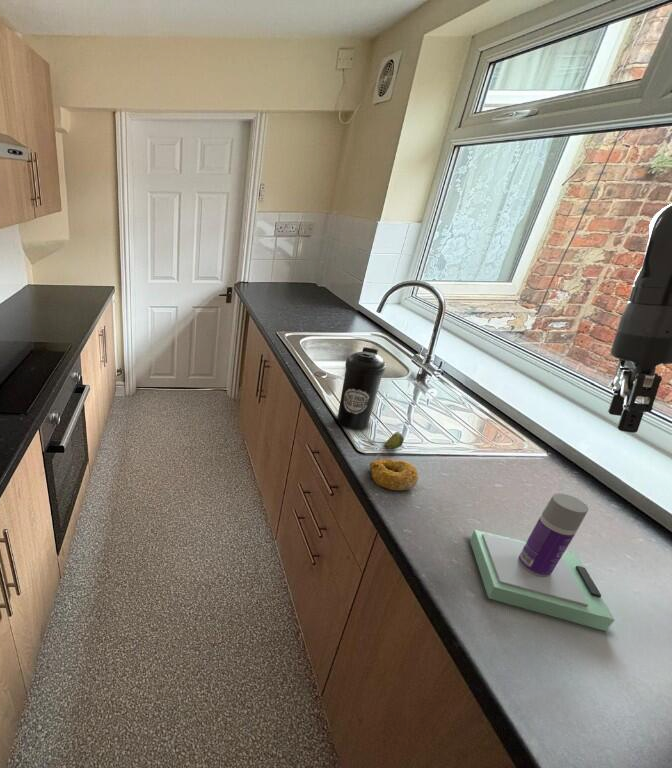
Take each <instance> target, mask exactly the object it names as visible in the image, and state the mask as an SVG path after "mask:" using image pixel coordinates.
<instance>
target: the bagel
mask: <svg viewBox="0 0 672 768" xmlns="http://www.w3.org/2000/svg"><path fill="white" fill-rule="evenodd" d="M369 469H370V470H371V475H372V476H371V477H372V478H373V482H375V483H376V485H378V486H380V487H382V488H385V489H387V490H391V491H406V490H410V489H413V488H414V487H415V486H417V483H418V481H419V475H418V471H417V469H416V467H415V466H414V465H412V464H411V463H410V462H408V461H405V460H395V459H391V458H380V459H377V460H372V461H371V462H370V463H369Z"/></svg>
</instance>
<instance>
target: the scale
mask: <svg viewBox="0 0 672 768" xmlns="http://www.w3.org/2000/svg"><path fill="white" fill-rule="evenodd" d="M469 542H470V546H471V548H472V549H471V550H472V552H473V554H474V558H475V561H476V564H477V567H478V570H479V573H480V576H481V579H482V583H483V586H484V588H485V592H486V594H487V598H488V599H491V600H493V601H497V602H500V603H505V604H508V605H511V606H515V607H517V608H518V607H519V608H522V609H526V610H529V611H532V612H536V613H540V614H542V615H547V616H550V617H554V618H557V619H561V620H564V621H568V622H572V623H575V624H579V625H582V626H586V627H589V628H593V629H597V630H600V631H603V632H607V631H608V629H609V627H611V625H612V624H613V623H614V622H615V618H614V616H613V614H612V612H611V610H610V609H609V607H608V606H607V604H606V603H605V601H604V598H602V594H601V592H600V590H599V589H598V587H597V585H596V584H595V582H594V580H593V579H592V577H591V575H590V574H589V572H588V570H587V569H586V567H585V566H584V565H583V564H582V562H581V560H580V558H579V556H578V555H577V553H575V552H571V551H566V550H565V552H564V554H563V555H562V557H561V559H560V560H559V562H558V564H557V565H556V567H555V568H554V570H553V572H552V573H551V575H550V576H548V577H541V576H537V575H534V574H532V573H530V572H528V571H527V570H525V569H524V568H523V567H522V566H521V565H520V564H519V562H518V557H519V555H520V553H521V552H522V550H523V548H524V546H525V544H526V542H527V541H524V540H521V539H515V538H512V537H507V536H503V535H499V534H495V533H491V532H486V531H482V530H478V529H474V530H473V532H472V534H471V536H470V539H469Z"/></svg>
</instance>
